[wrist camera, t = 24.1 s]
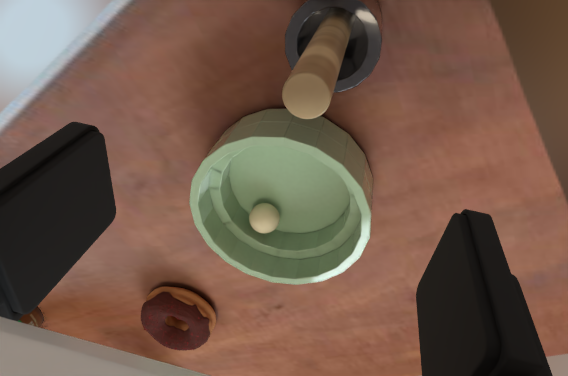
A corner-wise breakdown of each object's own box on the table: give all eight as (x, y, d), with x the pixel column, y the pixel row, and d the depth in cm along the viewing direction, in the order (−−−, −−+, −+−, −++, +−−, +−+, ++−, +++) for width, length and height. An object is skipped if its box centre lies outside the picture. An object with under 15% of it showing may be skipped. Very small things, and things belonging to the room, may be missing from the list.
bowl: (186, 133, 38) (157, 164, 33) (342, 82, 32) (335, 111, 27) (253, 252, 45) (237, 292, 40) (391, 228, 39) (392, 272, 34)
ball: (266, 192, 39) (245, 209, 37) (289, 212, 38) (268, 231, 37) (261, 206, 41) (240, 223, 40) (281, 226, 41) (262, 244, 39)
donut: (190, 273, 49) (176, 298, 46) (232, 323, 53) (223, 349, 50) (134, 290, 54) (118, 314, 50) (178, 335, 58) (165, 359, 54)
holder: (289, -1, 29) (270, 15, 24) (368, -35, 27) (365, -24, 22) (316, 75, 32) (304, 103, 27) (390, 50, 30) (392, 75, 25)
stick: (323, 8, 29) (273, 82, 16) (349, -4, 28) (319, 64, 15) (333, 35, 30) (293, 126, 17) (358, 24, 29) (338, 110, 16)
